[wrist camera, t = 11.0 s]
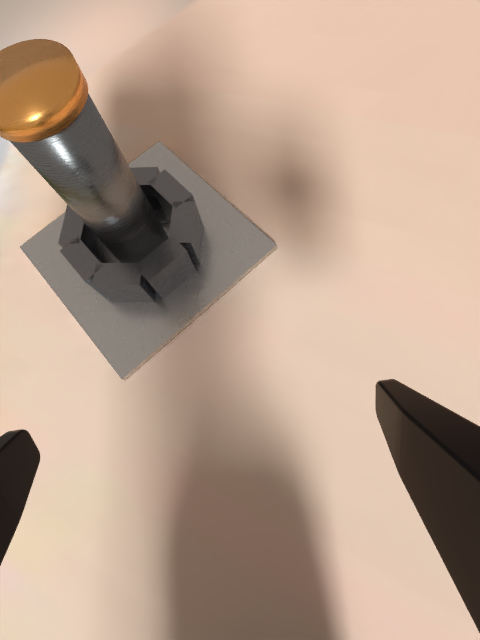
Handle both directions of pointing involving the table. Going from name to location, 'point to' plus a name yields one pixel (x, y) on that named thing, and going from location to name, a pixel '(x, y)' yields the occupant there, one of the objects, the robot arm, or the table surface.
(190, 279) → the rosette collar
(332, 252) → the table surface
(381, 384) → the robot arm
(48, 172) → the copper capped metal cylinder
